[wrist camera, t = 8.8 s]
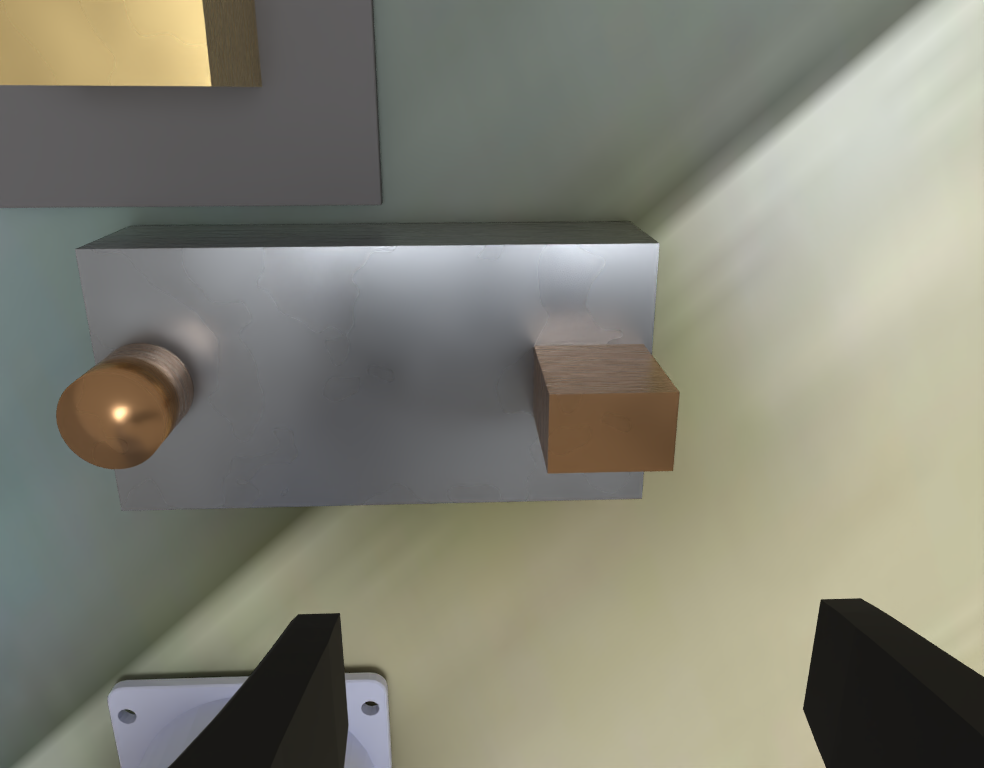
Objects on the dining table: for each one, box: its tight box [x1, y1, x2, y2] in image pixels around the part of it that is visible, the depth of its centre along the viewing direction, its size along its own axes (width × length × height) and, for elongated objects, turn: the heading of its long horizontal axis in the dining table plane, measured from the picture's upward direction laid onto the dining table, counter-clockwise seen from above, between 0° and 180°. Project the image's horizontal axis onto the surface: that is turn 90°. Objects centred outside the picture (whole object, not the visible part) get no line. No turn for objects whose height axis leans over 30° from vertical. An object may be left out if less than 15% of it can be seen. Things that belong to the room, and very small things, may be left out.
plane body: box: [56, 222, 679, 511], centre depth 18 cm, size 6×12×6 cm, turn 90°
